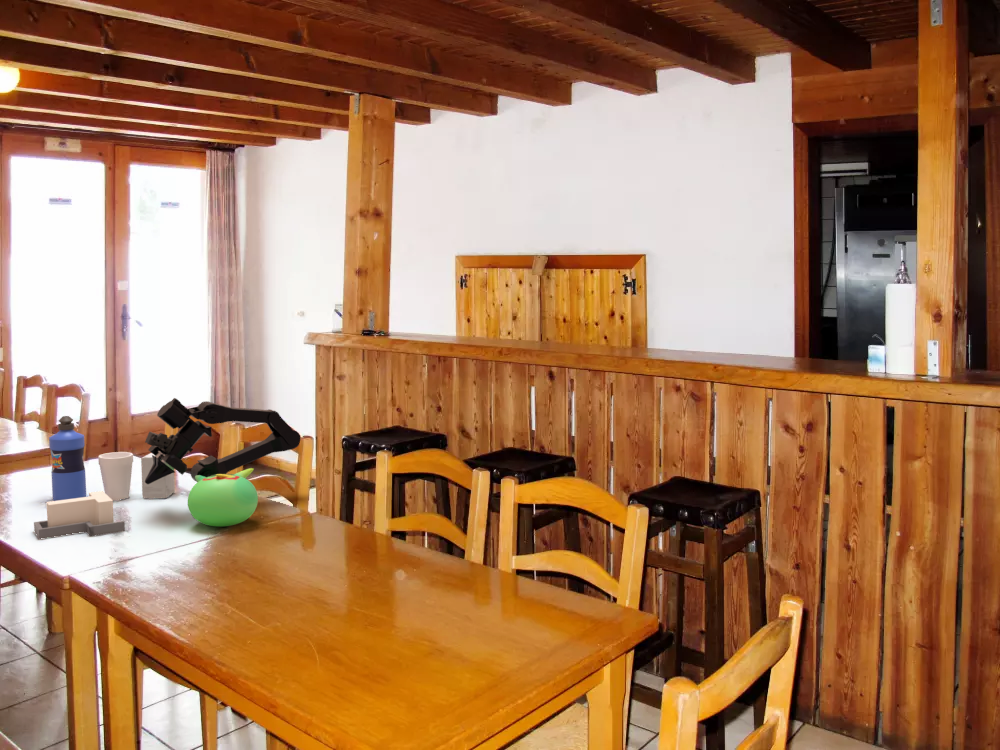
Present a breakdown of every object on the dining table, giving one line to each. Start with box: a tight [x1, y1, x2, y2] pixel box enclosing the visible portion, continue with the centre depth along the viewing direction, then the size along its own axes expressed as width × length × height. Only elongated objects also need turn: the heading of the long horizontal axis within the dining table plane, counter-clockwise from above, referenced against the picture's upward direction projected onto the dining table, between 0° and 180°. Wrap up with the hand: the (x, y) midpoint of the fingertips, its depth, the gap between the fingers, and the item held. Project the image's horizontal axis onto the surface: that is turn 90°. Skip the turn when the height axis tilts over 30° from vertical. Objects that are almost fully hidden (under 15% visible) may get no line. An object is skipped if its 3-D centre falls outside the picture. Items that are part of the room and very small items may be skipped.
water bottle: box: [48, 415, 87, 501], centre depth 259 cm, size 9×9×25 cm
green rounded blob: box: [187, 467, 259, 528], centre depth 236 cm, size 18×17×15 cm
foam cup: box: [97, 451, 134, 501], centre depth 263 cm, size 10×9×13 cm
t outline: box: [33, 519, 126, 540], centre depth 231 cm, size 20×17×2 cm
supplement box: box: [140, 452, 176, 499], centre depth 266 cm, size 7×7×13 cm
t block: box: [45, 490, 115, 527], centre depth 231 cm, size 14×12×8 cm
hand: (146, 483), depth 241 cm, fingers closed
